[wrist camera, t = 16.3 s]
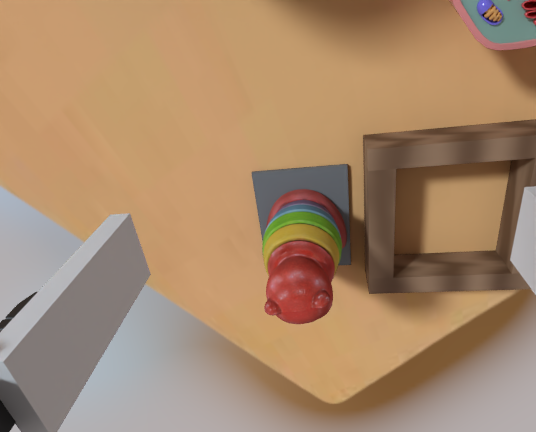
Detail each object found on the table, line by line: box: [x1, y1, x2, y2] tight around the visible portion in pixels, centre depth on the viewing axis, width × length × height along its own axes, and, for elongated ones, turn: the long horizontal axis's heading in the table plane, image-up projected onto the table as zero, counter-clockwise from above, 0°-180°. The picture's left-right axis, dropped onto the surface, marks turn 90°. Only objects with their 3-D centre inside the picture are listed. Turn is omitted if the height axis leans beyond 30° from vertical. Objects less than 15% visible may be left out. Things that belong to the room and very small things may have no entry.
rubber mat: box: [252, 164, 351, 265], centre depth 53 cm, size 12×15×1 cm
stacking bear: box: [263, 189, 347, 324], centre depth 45 cm, size 11×10×18 cm
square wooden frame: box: [363, 119, 536, 294], centre depth 48 cm, size 20×20×5 cm
